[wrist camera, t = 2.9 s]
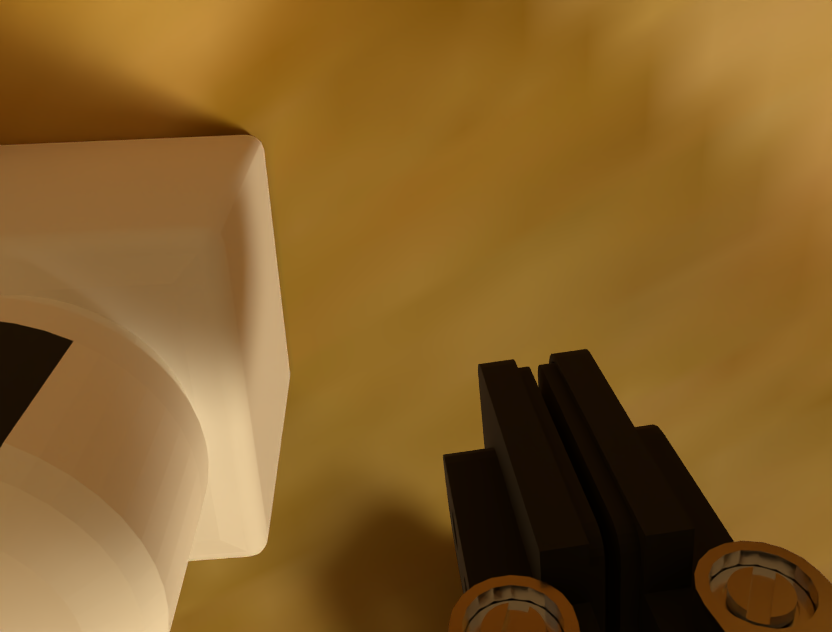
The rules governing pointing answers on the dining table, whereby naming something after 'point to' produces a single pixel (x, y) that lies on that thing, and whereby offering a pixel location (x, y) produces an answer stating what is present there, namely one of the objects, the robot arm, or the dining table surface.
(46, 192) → the medicine bottle
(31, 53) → the dining table surface
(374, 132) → the dining table surface
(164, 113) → the dining table surface
